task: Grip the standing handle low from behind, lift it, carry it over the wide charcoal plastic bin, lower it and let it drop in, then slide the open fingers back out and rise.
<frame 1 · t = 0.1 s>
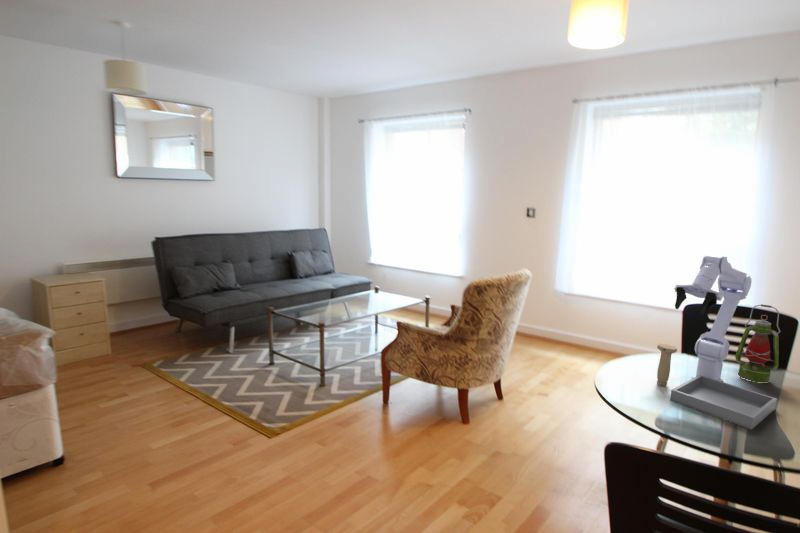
hand: (688, 309, 164), 32 cm above the table, tool tilted 50°, fingers open, 7 cm apart
lantern: (753, 378, 190), on the table
handle: (661, 385, 180), on the table
bin: (721, 405, 165), on the table
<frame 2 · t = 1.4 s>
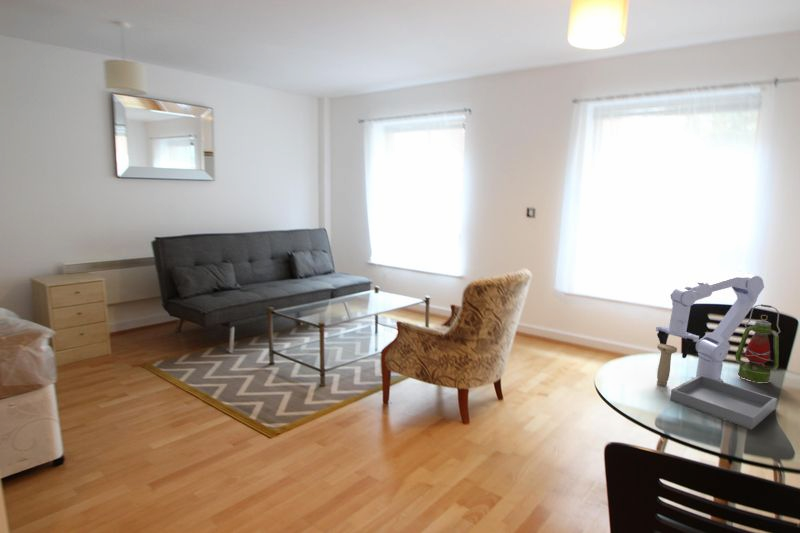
hand: (673, 354, 183), 11 cm above the table, tool pointing down, fingers open, 7 cm apart
nothing on the table moved.
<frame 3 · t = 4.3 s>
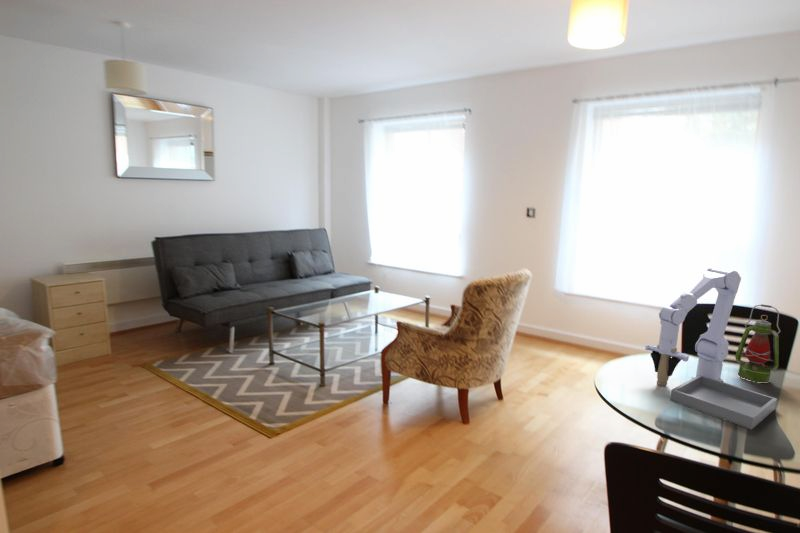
hand: (663, 373, 179), 4 cm above the table, tool pointing down, fingers closed on handle, 4 cm apart
handle: (661, 385, 180), on the table, touching gripper
everything else where it was.
when the fingers open (6 cm above the table, at t = 8.8 s): handle moves 2 cm, point 1 cm above the table.
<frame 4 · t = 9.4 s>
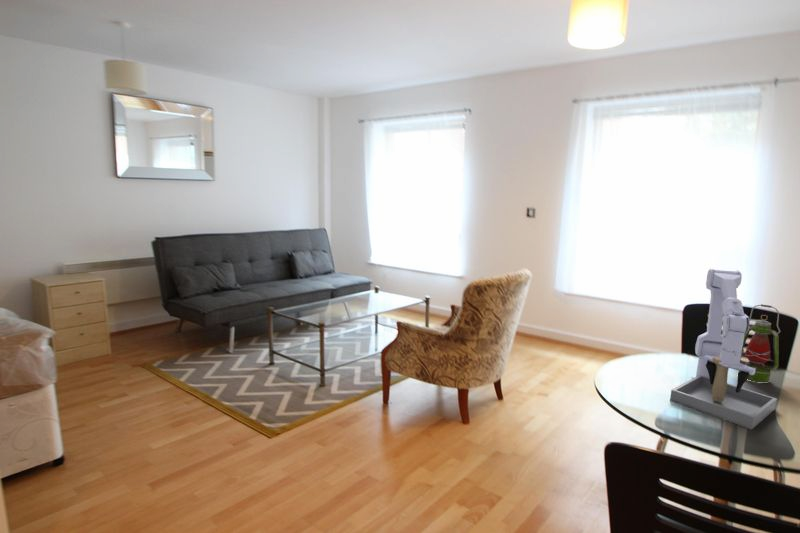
hand: (724, 387, 164), 6 cm above the table, tool pointing down, fingers open, 7 cm apart
handle: (717, 401, 166), point 1 cm above the table, touching gripper
everything else where it was.
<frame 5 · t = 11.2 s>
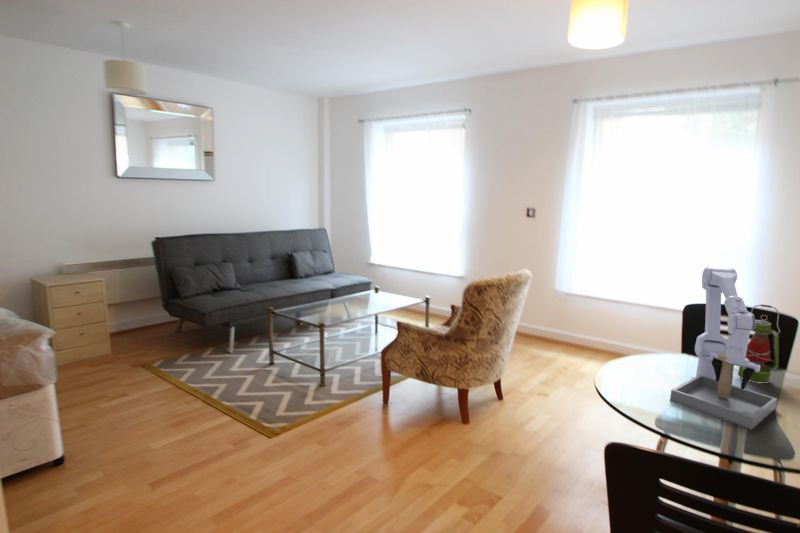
hand: (730, 384, 167), 6 cm above the table, tool pointing down, fingers open, 7 cm apart
handle: (722, 397, 169), point 1 cm above the table, touching gripper
everything else where it was.
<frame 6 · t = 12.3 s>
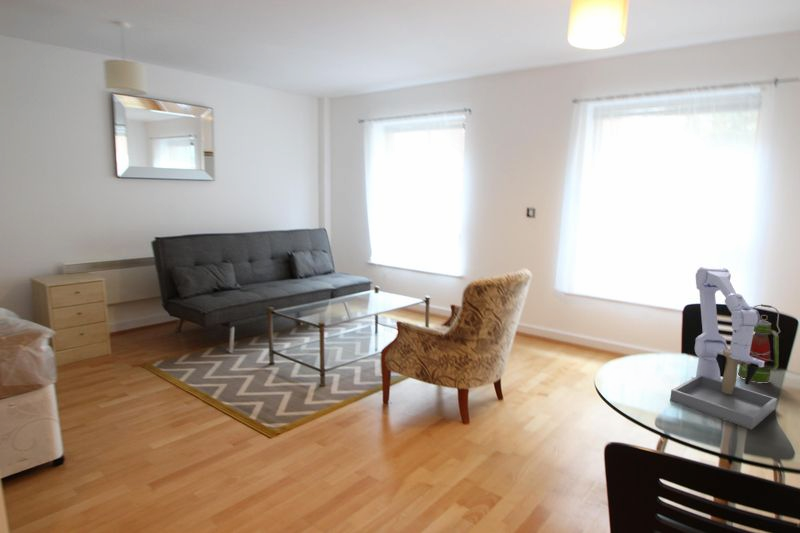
hand: (734, 379, 169), 7 cm above the table, tool pointing down, fingers open, 7 cm apart
handle: (727, 393, 171), point 1 cm above the table, touching gripper
everything else where it was.
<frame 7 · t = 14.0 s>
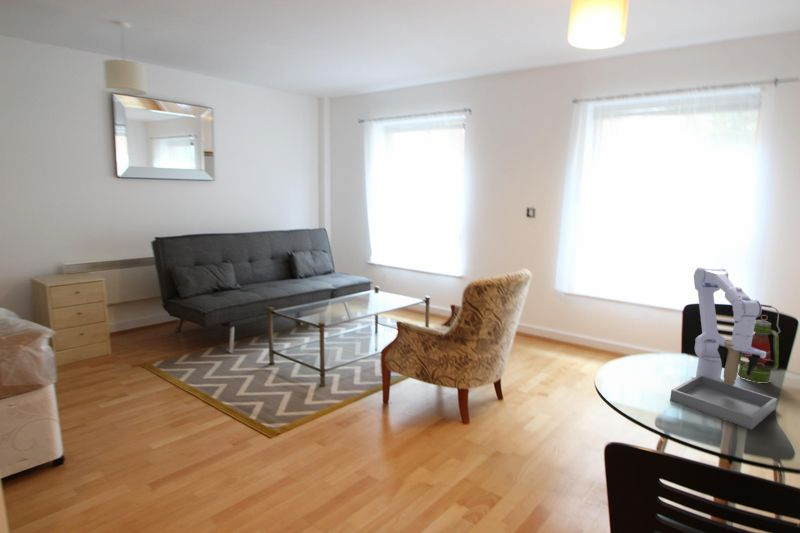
hand: (736, 371, 168), 10 cm above the table, tool pointing down, fingers open, 7 cm apart
handle: (728, 384, 171), point 5 cm above the table, touching gripper
everything else where it was.
at the end: handle inside the target area on the bin (9.0 cm from its centre), point 4.8 cm above the bin's base; the gripper is holding nothing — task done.
